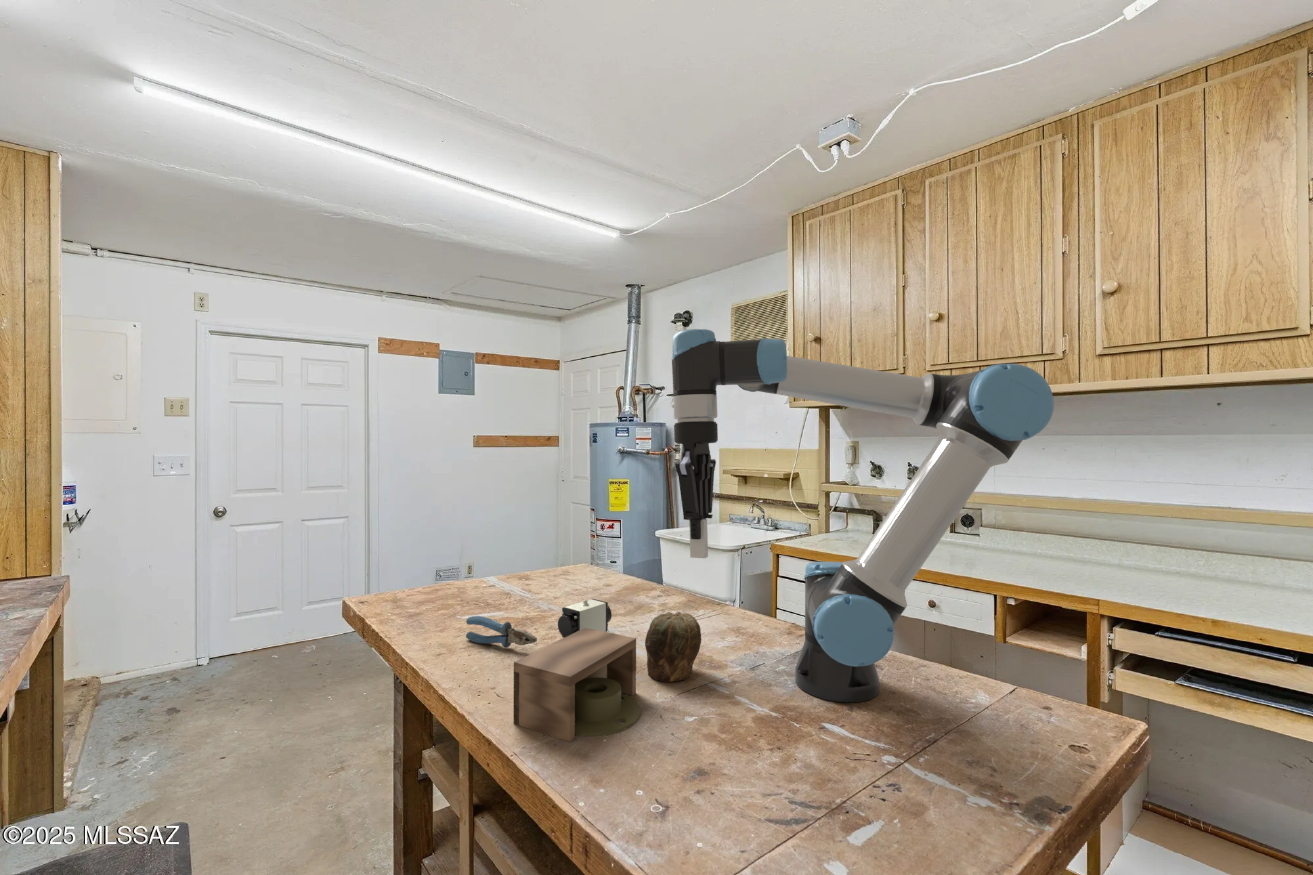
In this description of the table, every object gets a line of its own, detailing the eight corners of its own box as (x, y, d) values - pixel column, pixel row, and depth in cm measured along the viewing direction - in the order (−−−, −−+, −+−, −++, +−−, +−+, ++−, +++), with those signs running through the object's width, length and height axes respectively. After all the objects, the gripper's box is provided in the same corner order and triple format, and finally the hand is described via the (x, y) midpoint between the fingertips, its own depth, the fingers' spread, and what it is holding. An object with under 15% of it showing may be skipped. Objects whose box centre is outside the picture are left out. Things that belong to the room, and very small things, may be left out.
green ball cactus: (697, 688, 108) (697, 624, 108) (639, 683, 110) (640, 620, 110) (704, 665, 118) (704, 607, 118) (651, 661, 120) (651, 603, 120)
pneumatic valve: (612, 650, 126) (612, 595, 126) (572, 667, 117) (572, 608, 117) (594, 644, 130) (594, 591, 130) (554, 660, 121) (554, 603, 121)
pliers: (538, 654, 124) (538, 626, 124) (531, 657, 122) (531, 629, 122) (471, 638, 134) (471, 612, 134) (464, 640, 132) (464, 614, 132)
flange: (532, 689, 97) (594, 718, 87) (597, 663, 109) (658, 685, 99) (532, 717, 97) (594, 749, 87) (597, 688, 109) (658, 713, 99)
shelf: (635, 693, 106) (636, 638, 106) (569, 741, 89) (570, 676, 89) (584, 679, 111) (584, 627, 111) (513, 723, 94) (513, 662, 94)
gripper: (690, 422, 108) (693, 548, 108) (659, 421, 96) (663, 563, 96) (728, 420, 104) (732, 551, 104) (701, 419, 93) (705, 566, 93)
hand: (699, 556), depth 100 cm, fingers closed
